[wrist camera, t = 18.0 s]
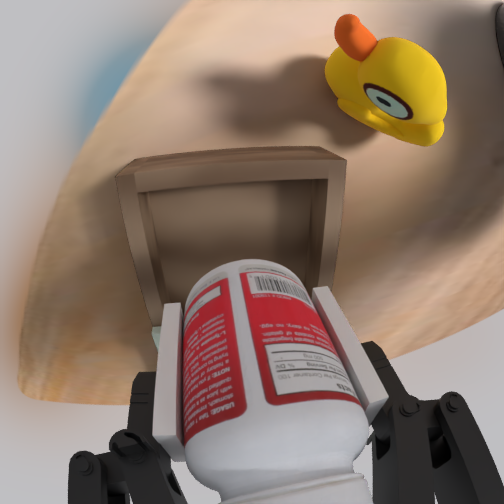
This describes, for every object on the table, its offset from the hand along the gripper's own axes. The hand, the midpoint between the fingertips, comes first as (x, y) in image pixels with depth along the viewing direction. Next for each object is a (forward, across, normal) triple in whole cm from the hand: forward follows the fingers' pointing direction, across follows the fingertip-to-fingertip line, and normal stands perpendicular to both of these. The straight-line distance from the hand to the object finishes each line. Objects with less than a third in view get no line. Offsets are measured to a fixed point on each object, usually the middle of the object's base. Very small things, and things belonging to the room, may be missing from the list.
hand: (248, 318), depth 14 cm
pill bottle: (+1, 0, 0) cm, 1 cm away
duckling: (+11, +10, +11) cm, 19 cm away
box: (+11, 0, -1) cm, 11 cm away
